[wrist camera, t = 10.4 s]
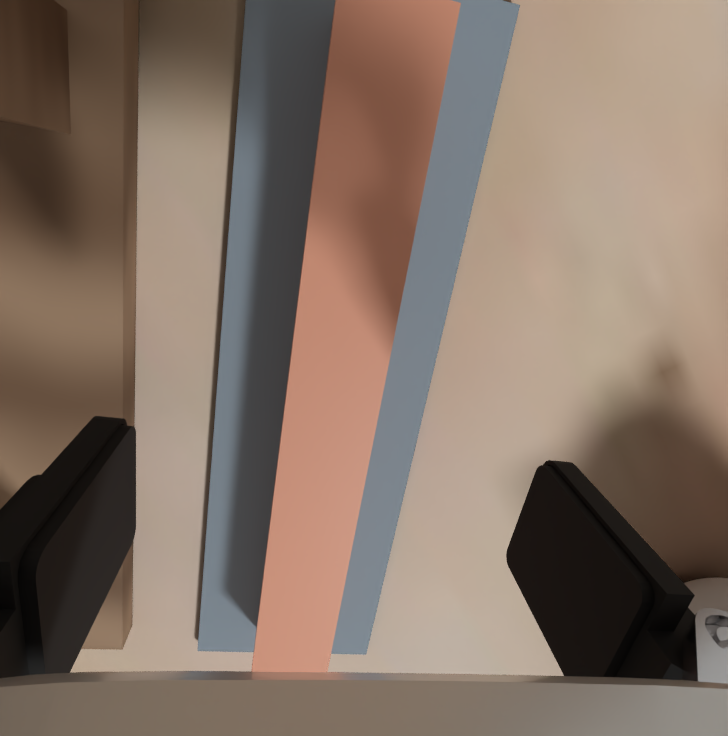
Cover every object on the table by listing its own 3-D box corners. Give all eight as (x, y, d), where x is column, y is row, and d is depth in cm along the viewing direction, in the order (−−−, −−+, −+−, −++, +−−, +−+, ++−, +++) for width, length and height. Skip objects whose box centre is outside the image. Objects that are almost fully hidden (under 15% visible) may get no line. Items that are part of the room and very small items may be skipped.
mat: (252, -61, 13) (251, -69, 13) (514, 10, 14) (520, 4, 14) (199, 643, 22) (197, 650, 22) (365, 647, 23) (366, 654, 23)
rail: (333, 16, 14) (339, -30, 11) (430, 40, 14) (461, 2, 11) (256, 627, 21) (248, 692, 19) (321, 629, 22) (323, 692, 19)
